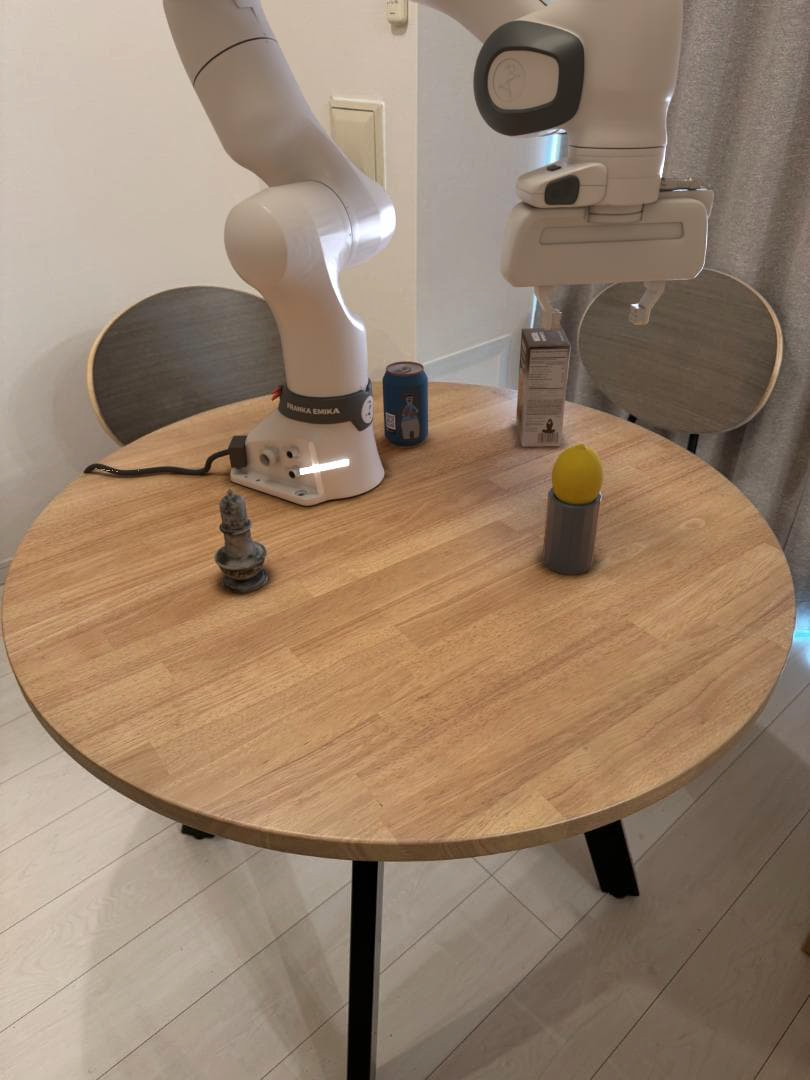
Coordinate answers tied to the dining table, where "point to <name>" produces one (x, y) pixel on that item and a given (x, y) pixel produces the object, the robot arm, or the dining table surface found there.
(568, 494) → the lemon
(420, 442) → the soda can
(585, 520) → the cup
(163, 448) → the dining table surface
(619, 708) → the dining table surface
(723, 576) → the dining table surface
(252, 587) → the grey chess piece
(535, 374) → the coffee box
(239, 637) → the dining table surface
